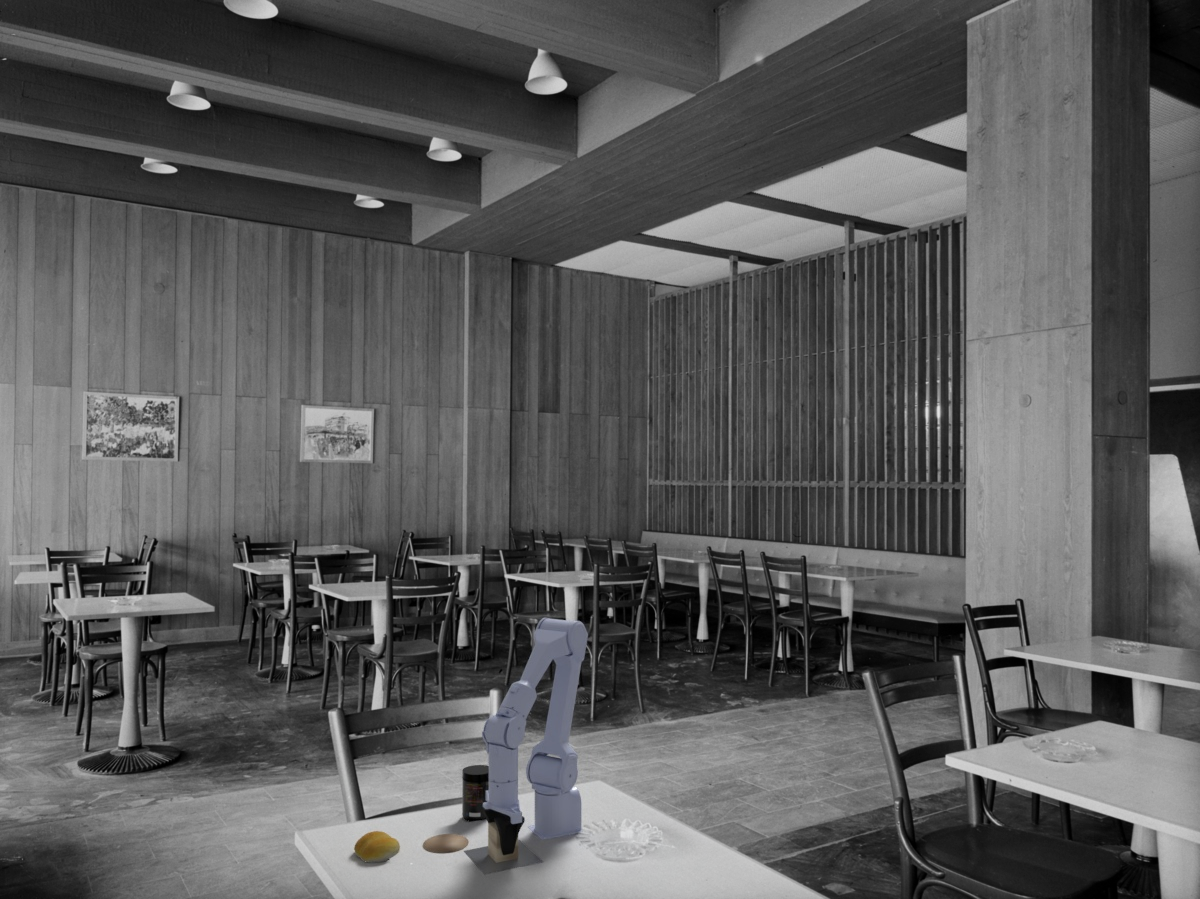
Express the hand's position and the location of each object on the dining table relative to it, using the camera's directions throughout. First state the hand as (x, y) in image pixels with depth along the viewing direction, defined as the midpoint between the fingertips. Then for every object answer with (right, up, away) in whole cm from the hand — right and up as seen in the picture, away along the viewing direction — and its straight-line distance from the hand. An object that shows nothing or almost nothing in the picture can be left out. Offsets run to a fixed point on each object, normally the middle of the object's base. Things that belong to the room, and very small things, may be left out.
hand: (503, 848), depth 177 cm
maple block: (0, -1, 0) cm, 1 cm away
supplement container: (-8, -3, +22) cm, 23 cm away
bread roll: (-25, -3, +3) cm, 26 cm away
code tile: (0, -2, 0) cm, 2 cm away
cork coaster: (-12, -2, +6) cm, 14 cm away
